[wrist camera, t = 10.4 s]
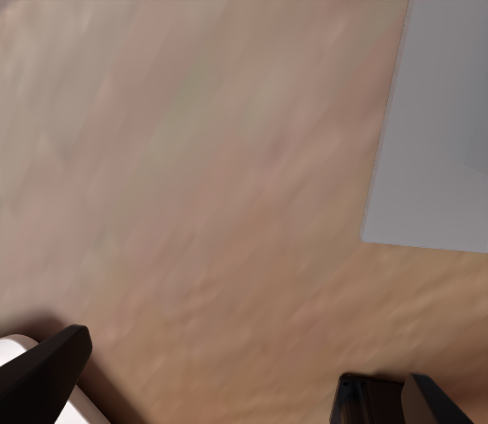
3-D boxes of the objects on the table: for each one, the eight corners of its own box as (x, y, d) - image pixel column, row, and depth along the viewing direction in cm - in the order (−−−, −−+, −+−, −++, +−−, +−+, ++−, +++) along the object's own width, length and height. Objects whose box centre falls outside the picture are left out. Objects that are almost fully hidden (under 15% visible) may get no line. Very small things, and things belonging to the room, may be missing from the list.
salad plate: (39, 309, 27) (7, 339, 24) (158, 447, 34) (144, 484, 31) (-90, 353, 34) (-129, 381, 30) (31, 462, 40) (10, 494, 37)
